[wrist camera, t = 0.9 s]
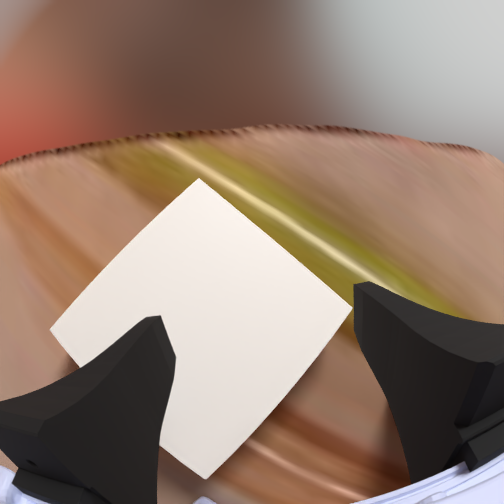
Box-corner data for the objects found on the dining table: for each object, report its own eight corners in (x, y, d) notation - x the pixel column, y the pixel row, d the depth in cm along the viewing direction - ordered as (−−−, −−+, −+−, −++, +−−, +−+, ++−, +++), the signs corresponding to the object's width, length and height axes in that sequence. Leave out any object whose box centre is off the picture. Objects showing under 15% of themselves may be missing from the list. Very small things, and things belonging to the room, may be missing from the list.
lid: (205, 476, 16) (204, 501, 12) (53, 330, 17) (25, 324, 14) (349, 309, 20) (375, 299, 17) (198, 181, 22) (197, 151, 18)
